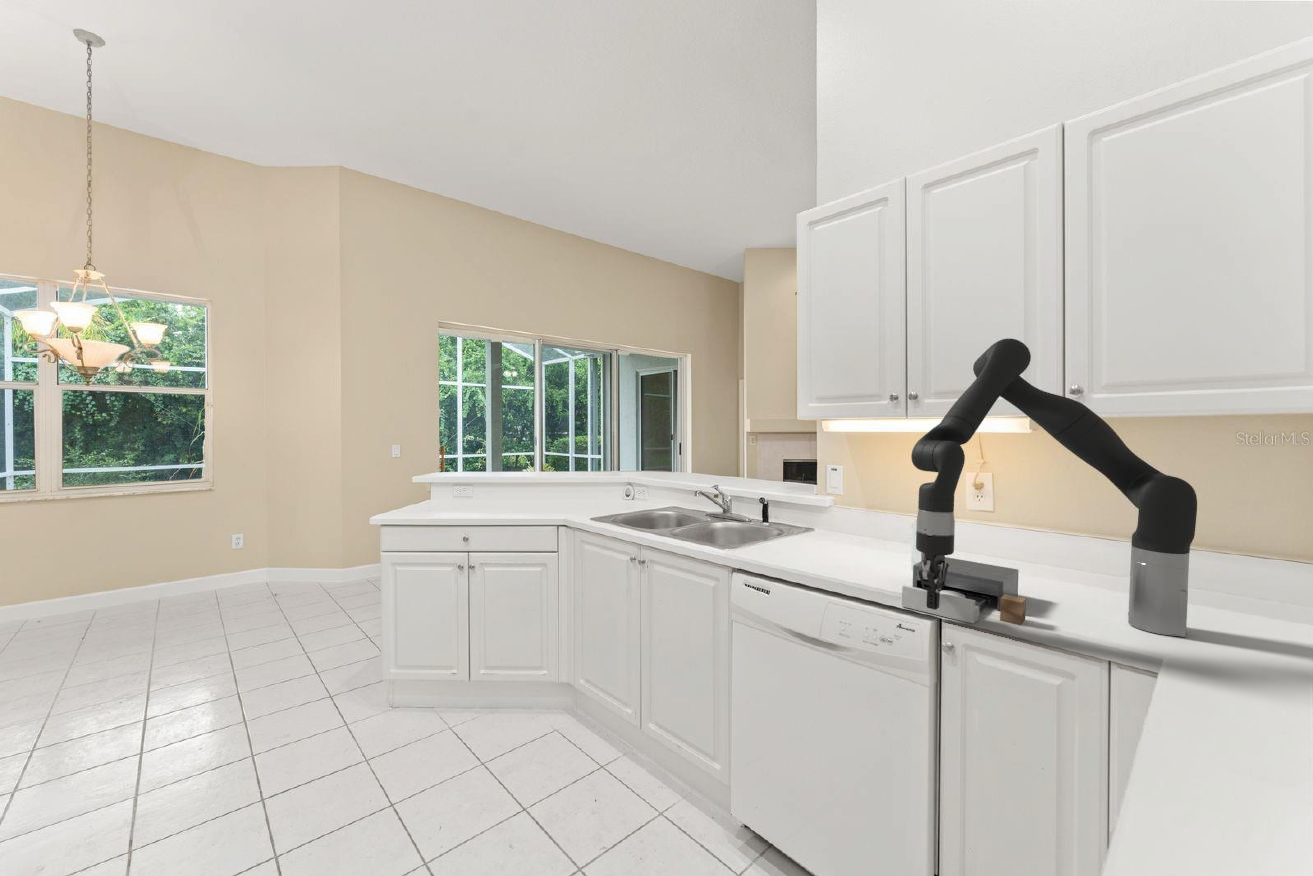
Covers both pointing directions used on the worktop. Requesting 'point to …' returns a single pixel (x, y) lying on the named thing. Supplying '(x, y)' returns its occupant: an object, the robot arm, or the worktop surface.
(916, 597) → the tray
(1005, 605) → the wooden block
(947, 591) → the white rounded flat dome
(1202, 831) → the worktop surface
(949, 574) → the housing
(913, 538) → the skincare box
